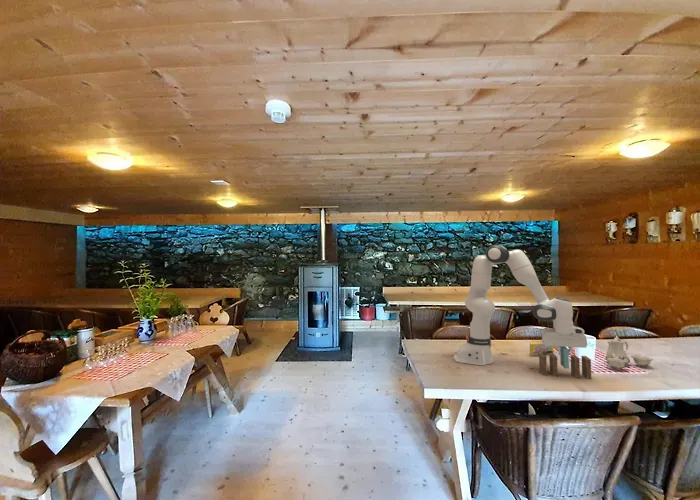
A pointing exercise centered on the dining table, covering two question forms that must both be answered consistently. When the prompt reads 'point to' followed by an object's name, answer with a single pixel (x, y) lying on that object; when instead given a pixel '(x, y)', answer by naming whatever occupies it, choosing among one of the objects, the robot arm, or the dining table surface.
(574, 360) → the domino
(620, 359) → the chinaware
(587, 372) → the domino
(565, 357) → the placed domino
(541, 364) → the domino
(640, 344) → the dining table surface
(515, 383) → the dining table surface
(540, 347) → the candy box
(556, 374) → the domino
